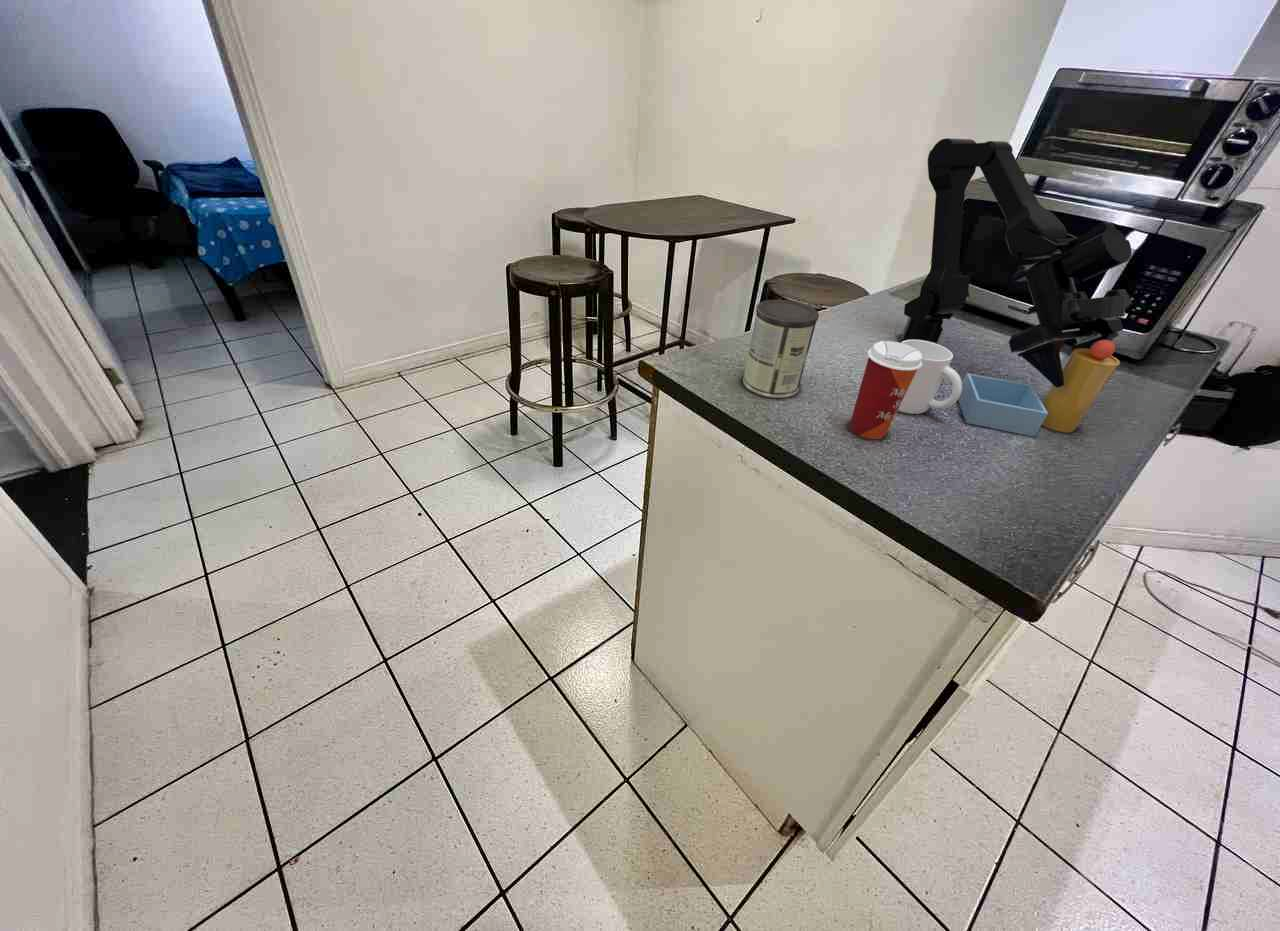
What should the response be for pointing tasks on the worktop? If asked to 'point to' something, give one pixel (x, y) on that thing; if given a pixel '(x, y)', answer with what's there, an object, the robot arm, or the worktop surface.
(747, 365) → the coffee can
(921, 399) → the mug
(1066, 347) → the worktop surface
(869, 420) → the paper cup
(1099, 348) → the toy ball
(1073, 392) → the tall tapered cup
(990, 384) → the bin
